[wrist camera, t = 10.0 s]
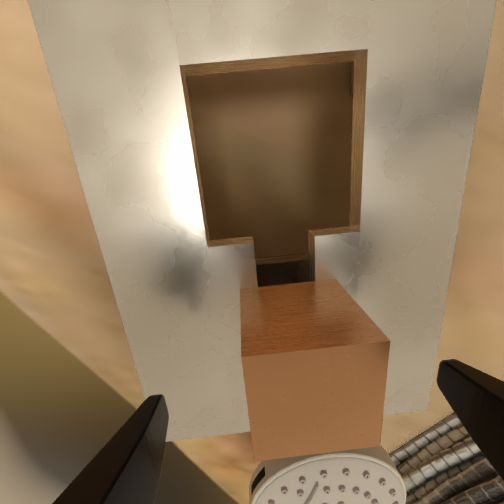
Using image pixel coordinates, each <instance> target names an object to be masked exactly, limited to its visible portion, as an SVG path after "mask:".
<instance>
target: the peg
mask: <svg viewBox="0 0 504 504" xmlns="http://www.w3.org/2000/svg"><path fill="white" fill-rule="evenodd" d="M255 262H256V273H257V284H258V287H254V288H245V289H240V324H241V360H242V368H243V376H244V384H245V392H246V399H247V407H248V415H249V423H250V431H251V439H252V447H253V455H254V462H255V461H263V460H271V459H279V458H287V457H296V456H304V455H312V454H320V453H328V452H336V451H345V450H353V449H361V448H369V447H377V446H380V441H381V431H382V421H383V411H384V401H385V390H386V380H387V370H388V360H389V350H390V340H389V339H388V337H387V336H386V335H385V334H384V333H383V332H382V331H381V330H380V328H379V327H378V326H377V325H376V324H375V323H374V322H373V320H372V319H371V318H370V317H369V316H368V315H367V314H366V313H365V311H364V310H363V309H362V308H361V307H360V306H359V305H358V304H357V302H356V301H355V300H354V299H353V298H352V297H351V296H350V295H349V293H348V292H347V291H346V290H345V289H344V288H343V287H342V286H341V284H340V283H339V282H338V281H337V280H336V279H330V280H320V281H311V282H309V256H308V253H303V254H293V255H283V256H273V257H264V258H255Z"/></svg>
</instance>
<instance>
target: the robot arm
mask: <svg viewBox="0 0 504 504" xmlns="http://www.w3.org/2000/svg"><path fill="white" fill-rule="evenodd" d="M437 384H438V387H439V389H440V390H441V392H442V393H443V395H444V396H445V398H446V400H447V401H448V403H449V404H450V406H451V407H452V409H453V410H454V412H455V414H456V415H457V417H458V418H459V420H460V421H461V423H462V425H463V426H464V428H465V429H466V431H467V432H468V434H469V435H470V437H471V438H472V440H473V441H474V442H475V444H476V445H477V446H478V448H479V449H480V450H481V452H482V453H483V454H484V456H485V457H486V458H487V460H488V461H489V462H490V464H491V465H492V466H493V468H494V469H495V470H496V472H497V473H498V474H499V476H500V477H501V478H502V480H503V481H504V382H503V381H501V380H499V379H497V378H495V377H492V376H490V375H488V374H486V373H484V372H482V371H480V370H477V369H475V368H473V367H471V366H469V365H467V364H464V363H462V362H460V361H458V360H455V359H450V360H443V361H441V362H440V364H439V370H438V376H437ZM168 422H169V413H168V409H167V405H166V401H165V398H164V395H163V394H156V395H150V396H149V397H148V398H147V399H146V400H145V401H144V402H143V403H142V404H141V405H140V406H139V408H138V409H137V410H136V411H135V412H134V413H133V414H132V415H131V417H130V418H129V419H128V420H127V421H126V422H125V423H124V424H123V425H122V427H121V428H120V429H119V430H118V431H117V432H116V433H115V434H114V435H113V437H112V438H111V439H110V440H109V441H108V442H107V443H106V444H105V445H104V447H103V448H102V449H101V450H100V451H99V452H98V453H97V454H96V456H95V457H94V458H93V459H92V460H91V461H90V462H89V463H88V464H87V465H86V467H85V468H84V469H83V470H82V471H81V472H80V473H79V474H78V476H77V477H76V478H75V479H74V480H73V481H72V482H71V483H70V484H69V486H68V487H67V488H66V489H65V490H64V491H63V492H62V493H61V494H60V496H59V497H58V498H57V499H56V500H55V501H54V502H53V503H52V504H154V500H155V496H156V492H157V488H158V484H159V479H160V473H161V467H162V461H163V454H164V448H165V441H166V435H167V428H168Z"/></svg>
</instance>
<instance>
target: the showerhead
mask: <svg viewBox="0 0 504 504" xmlns="http://www.w3.org/2000/svg"><path fill="white" fill-rule="evenodd" d="M406 495H407V494H406V486H405V483H404V481H403V479H402V477H401V475H400V473H399V472H398V470H397V468H396V466H395V465H394V463H393V461H392V459H391V458H390V456H389V454H388V453H387V452H386V451H385V449H384V448H383V447H381V446H377V447H369V448H361V449H353V450H345V451H336V452H328V453H320V454H312V455H304V456H296V457H287V458H279V459H271V460H263V461H262V462H261V463H260V464H259V465H258V467H257V468H256V470H255V471H254V473H253V475H252V478H251V481H250V487H249V504H405V502H406Z"/></svg>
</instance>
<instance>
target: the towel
mask: <svg viewBox="0 0 504 504" xmlns="http://www.w3.org/2000/svg"><path fill="white" fill-rule="evenodd" d="M389 456H390V458H391V459H392V461H393V463H394V465H395V466H396V468H397V470H398V472H399V473H400V475H401V477H402V479H403V481H404V483H405V486H406V494H407V495H406V502H405V504H504V481H503V480H502V478H501V477H500V476H499V474H498V473H497V472H496V470H495V469H494V468H493V466H492V465H491V464H490V462H489V461H488V460H487V458H486V457H485V456H484V454H483V453H482V452H481V450H480V449H479V448H478V446H477V445H476V444H475V442H474V441H473V440H472V438H471V437H470V435H469V434H468V432H467V431H466V429H465V428H464V426H463V425H462V423H461V421H460V420H459V418H458V417H457V415H456V414H455V412H454V413H453V414H451V415H449V416H448V417H446V418H445V419H443V420H442V421H439V422H438V423H437V424H436V425H434V426H433V427H431V428H429V429H427V430H426V431H424V432H423V433H421V434H420V435H418V436H417V437H415V438H414V439H412V440H410V441H409V442H408V443H406V444H404V445H403V446H402V447H400V448H398V449H397V450H395V451H393V452H392V453H391V454H389Z"/></svg>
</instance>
